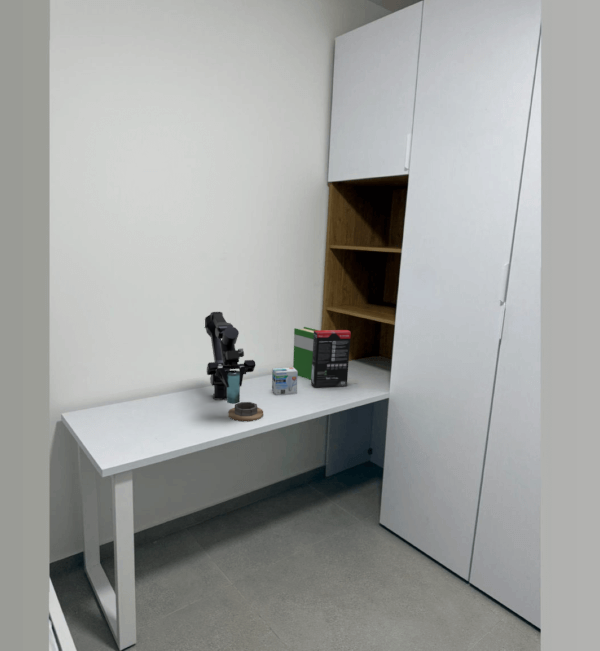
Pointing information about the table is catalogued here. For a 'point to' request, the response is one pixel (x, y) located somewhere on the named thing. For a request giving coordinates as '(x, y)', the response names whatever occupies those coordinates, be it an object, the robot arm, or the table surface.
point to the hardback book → (303, 351)
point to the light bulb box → (284, 380)
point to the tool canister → (233, 387)
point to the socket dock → (245, 412)
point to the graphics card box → (330, 358)
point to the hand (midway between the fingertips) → (234, 386)
